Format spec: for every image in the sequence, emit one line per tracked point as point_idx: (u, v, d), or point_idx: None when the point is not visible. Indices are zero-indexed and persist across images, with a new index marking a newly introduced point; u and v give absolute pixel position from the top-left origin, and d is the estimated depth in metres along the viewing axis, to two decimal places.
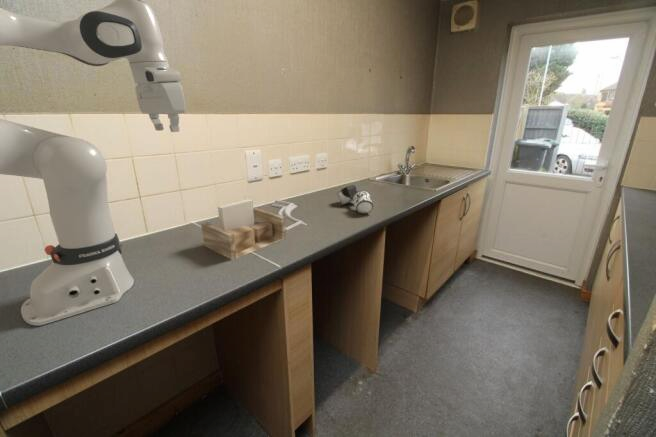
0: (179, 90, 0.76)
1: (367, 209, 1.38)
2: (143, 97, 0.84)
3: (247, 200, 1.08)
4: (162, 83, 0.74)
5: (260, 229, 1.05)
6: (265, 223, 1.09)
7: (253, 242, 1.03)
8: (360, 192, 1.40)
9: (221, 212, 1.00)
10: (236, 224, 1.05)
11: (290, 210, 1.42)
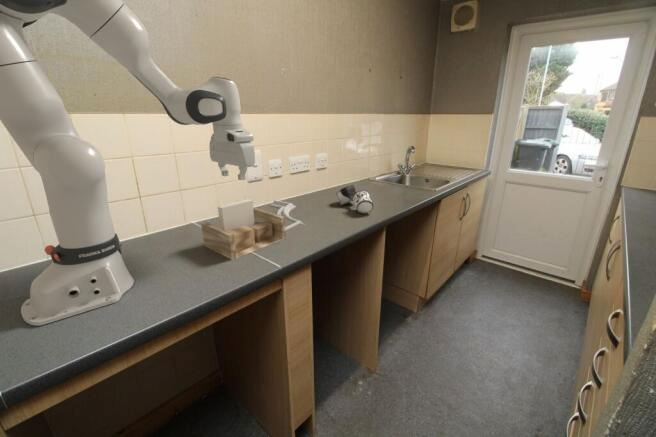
0: (252, 148, 0.94)
1: (367, 209, 1.38)
2: (216, 149, 1.01)
3: (247, 200, 1.08)
4: (240, 143, 0.91)
5: (260, 229, 1.05)
6: (265, 223, 1.09)
7: (253, 242, 1.03)
8: (360, 192, 1.40)
9: (221, 212, 1.00)
10: (236, 224, 1.05)
11: (289, 210, 1.42)
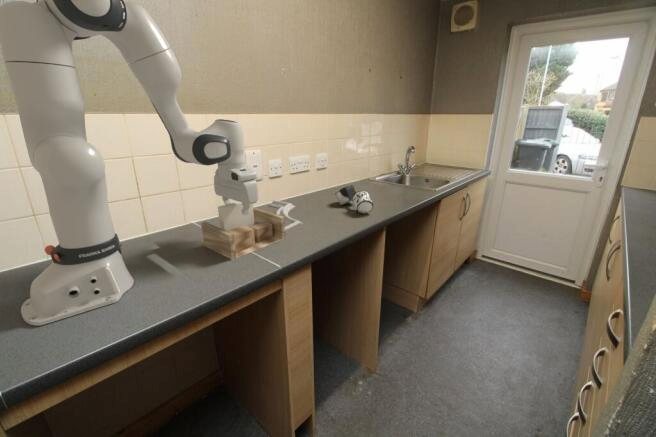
0: (255, 186, 0.97)
1: (367, 209, 1.38)
2: (220, 184, 1.05)
3: None
4: (244, 182, 0.95)
5: (260, 229, 1.05)
6: (265, 223, 1.09)
7: (253, 242, 1.03)
8: (360, 192, 1.40)
9: (221, 212, 1.00)
10: (236, 224, 1.05)
11: (288, 210, 1.42)
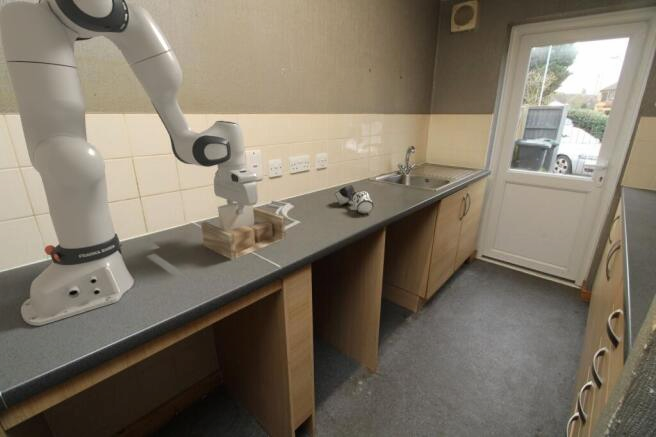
0: (255, 188, 0.98)
1: (367, 209, 1.38)
2: (220, 185, 1.05)
3: None
4: (244, 183, 0.95)
5: (260, 229, 1.05)
6: (265, 223, 1.09)
7: (253, 242, 1.03)
8: (360, 192, 1.40)
9: (221, 212, 1.00)
10: (236, 224, 1.05)
11: (287, 210, 1.42)
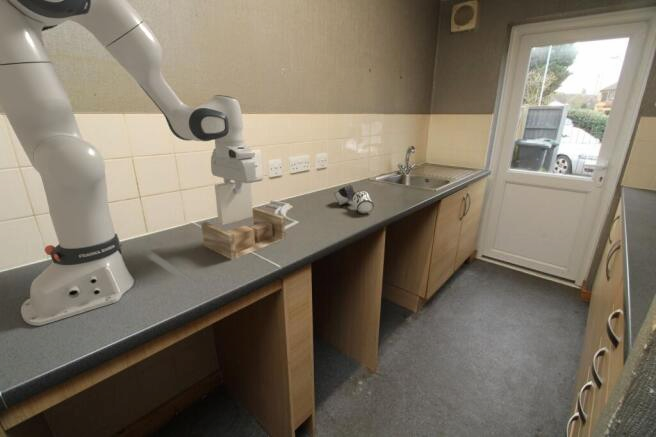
0: (253, 165, 0.95)
1: (367, 209, 1.38)
2: (217, 164, 1.03)
3: None
4: (241, 160, 0.93)
5: (260, 229, 1.05)
6: (265, 223, 1.09)
7: (253, 242, 1.03)
8: (360, 192, 1.40)
9: (218, 190, 0.98)
10: (234, 203, 1.03)
11: (286, 210, 1.42)
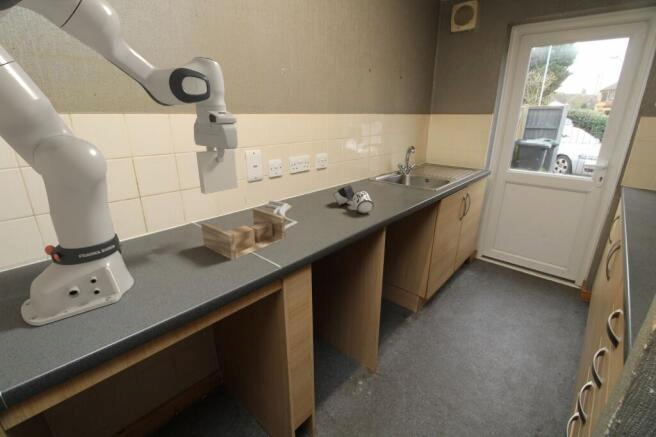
0: (234, 130, 0.92)
1: (368, 209, 1.39)
2: (200, 132, 1.00)
3: (228, 149, 1.03)
4: (222, 124, 0.90)
5: (260, 229, 1.05)
6: (265, 223, 1.09)
7: (253, 242, 1.03)
8: (360, 192, 1.40)
9: (199, 157, 0.95)
10: (216, 173, 1.00)
11: (284, 210, 1.42)
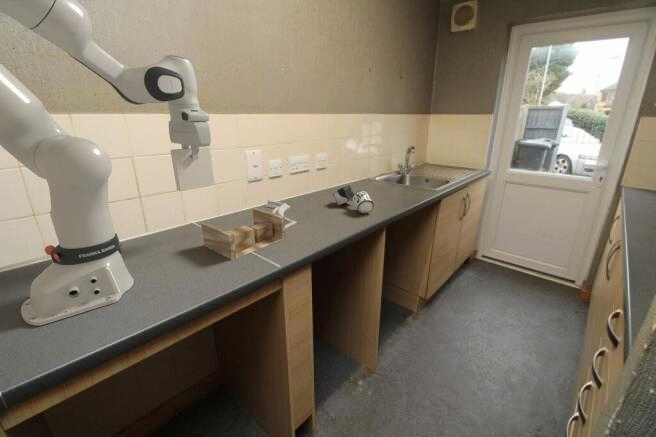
0: (207, 128, 0.94)
1: (368, 209, 1.39)
2: (175, 130, 1.01)
3: (204, 147, 1.04)
4: (194, 122, 0.92)
5: (260, 229, 1.05)
6: (265, 223, 1.09)
7: (253, 242, 1.03)
8: (359, 192, 1.40)
9: (173, 155, 0.97)
10: (192, 170, 1.01)
11: (283, 210, 1.41)
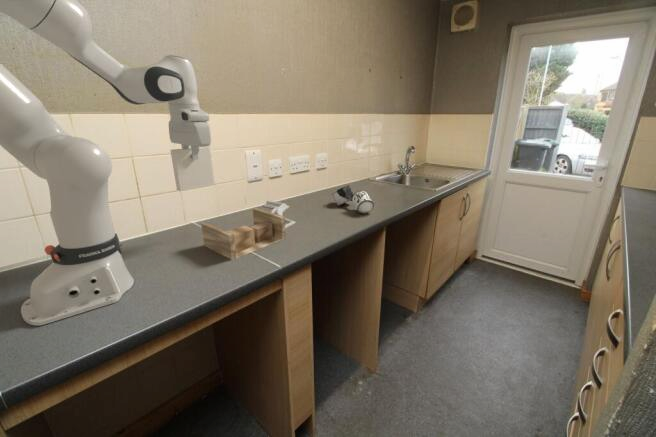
0: (207, 128, 0.94)
1: (368, 209, 1.39)
2: (174, 130, 1.01)
3: (204, 147, 1.04)
4: (194, 122, 0.92)
5: (260, 229, 1.05)
6: (265, 223, 1.09)
7: (253, 242, 1.03)
8: (359, 192, 1.40)
9: (173, 155, 0.97)
10: (192, 170, 1.01)
11: (282, 211, 1.41)
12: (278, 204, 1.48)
